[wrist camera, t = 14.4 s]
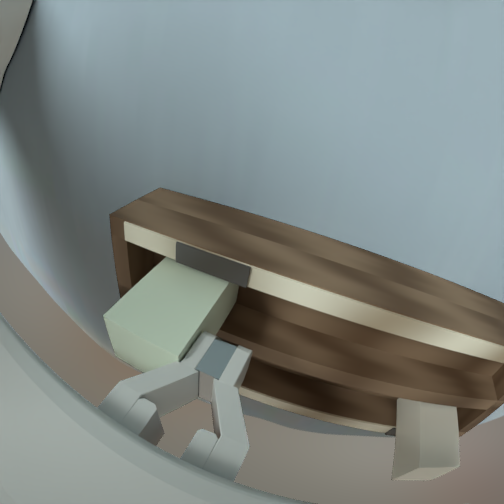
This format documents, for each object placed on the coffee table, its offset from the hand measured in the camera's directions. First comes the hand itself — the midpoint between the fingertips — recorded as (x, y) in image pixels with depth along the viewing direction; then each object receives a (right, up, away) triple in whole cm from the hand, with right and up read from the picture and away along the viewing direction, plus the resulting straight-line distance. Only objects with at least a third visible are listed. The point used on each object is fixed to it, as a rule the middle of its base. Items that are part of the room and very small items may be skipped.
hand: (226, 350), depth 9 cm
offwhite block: (+11, -5, +3) cm, 13 cm away
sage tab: (-1, +3, +4) cm, 4 cm away
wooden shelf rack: (+6, 0, +5) cm, 8 cm away
